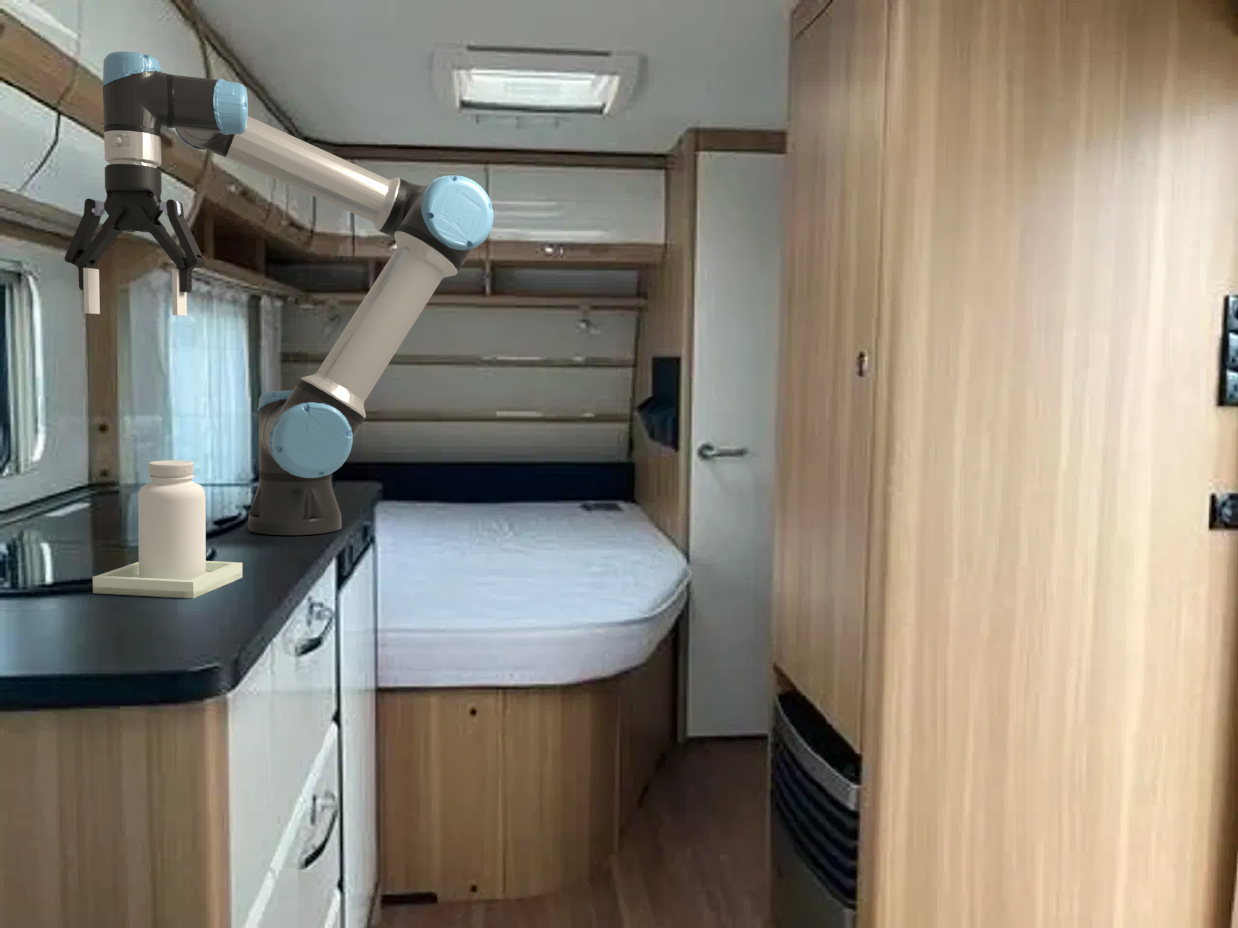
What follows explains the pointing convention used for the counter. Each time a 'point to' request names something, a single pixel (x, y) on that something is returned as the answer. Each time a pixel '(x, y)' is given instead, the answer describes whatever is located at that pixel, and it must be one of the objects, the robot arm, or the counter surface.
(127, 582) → the tray
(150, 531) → the pill bottle
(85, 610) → the counter surface
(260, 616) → the counter surface
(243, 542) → the counter surface
